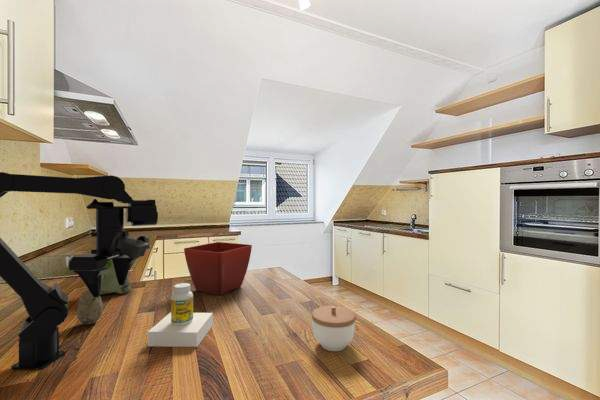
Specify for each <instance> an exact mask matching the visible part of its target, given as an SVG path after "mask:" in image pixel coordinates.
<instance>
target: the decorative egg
mask: <svg viewBox="0 0 600 400" xmlns="http://www.w3.org/2000/svg"><path fill="white" fill-rule="evenodd" d="M103 310H104V305H103V301H102V297H101V296H100V295H99V297H93V295H92V294H91V292H90V291H89V289H88V288H87V289H86V290H85V291H84V292H83V293H82V295H81V296H80V298H79V302H78V304H77V309H76V316H77V320H78V321H79V323H81V324H84V325H92V324H94V323H96V322H97V321H99V319H100V318H101V317H102V314H103V312H104V311H103Z"/></svg>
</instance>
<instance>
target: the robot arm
mask: <svg viewBox="0 0 600 400" xmlns="http://www.w3.org/2000/svg"><path fill="white" fill-rule="evenodd" d="M9 192H17V193H18V192H22V193H48V194H49V193H50V194H72V195H73V194H76V195H82V196H85V197H86V196H87V197H92V198H93V197H94V198H93V200H92V201H91V202H90V203H89V204H88V205H86V206H85V208H86V209H87V210H92V209H93V210H95V231H91V236H90V237H92V238H93V237H94V238H95V248H91V250H90V252H91V253H84V254H83V253H82V254H78V255H76V256H75V255H74V256H71V258H70V259H69V260H68V271H72V272H73V274H75V273H76V274H77V275H78V276H79V277H80V279H81V280H82V281H83V283H84V284H85V286H86V287H87V289H89V291H90V292H91V294H92V295H93V297H99V295H100V289H101V280H102V276H103V273H104V272H105V271H106V270H107V268H104V267H105V266H106V264H107V260H110V259H112V261H113V265H114V269H115V273H116V277H117V280H118V283H119V285H124V283H125V280H126V277H127V275H128V274H129V271H130V268H131V266H132V264H133V263H134V262H135V261H136V260H137V259H139V258H140V257H144V256H145V255H146V251H147V250H149V249H150V248H151V247H150V239H149V236H146V235H140V236H138V238H137V237H131V236H129V231H128V230H127V229H124V228H125V227H124V225H125V224H124V223H125V222H126V223H130V226H131V227H139V226H140V227H141V226H144V227H145V226H157V224H158V219H159V212H158V210H157V209H158V208H157V205H156V199H143V200H142V199H141V200H138V199H137V200H136V199H135V200H134V199H133V198H132V196H131V195H130V194H129V193H128V192H127V191H126V185H125V182H124V181H123V179H121V178H120V177H119V176H116V175H112V174H111V175H98V176H97V175H95V176H86V177H65V176H63V177H62V176H50V175H36V174H35V175H34V174H33V175H32V174H20V173H19V174H18V173H9V172H3V171H0V199H1V198H2V197H4V196H5V195H6V194H7V193H9ZM96 198H99V199H102V200H103V199H104V200H115V202H118V203H120V204H128V205H114V201H98V200H97V199H96ZM124 210H125V212H124ZM124 214H125V217H124ZM124 218H125V219H124ZM124 220H125V222H124ZM0 278H1V279H2V280H3V281H4V282H5V283H6V284H7V285H8V287H10V288H11V289H12V290H13V291H14V293H16V294H17V295H18V296H19V298H20V299H21V301H22V303H23V306H24V309H25V310H26V312H27V314H28V316H27V318H25V319H24V320H23V323H22V325H21V327H20V330H19V333H18V337H19V338H18V361H17V362H16V363H14V364H13V365H11V366H10V369H11V370H42V369H44V368H45V367H47V366H48V365H50V364H51V363H52V362H54V361H56V360H57V359H60V358H61V357H62V356H64V355H65V354H66V350H60V332H59V331H60V330H59V329H60V328H59V326H60V325H61V324H63V323H64V322H65V320H66V319H67V317H68V314H69V313H68V312H69V294H67V293H65V292H64V291H63V290H62V288H61V287H60V286H59V285H60V284H58V283H57V282H55V283H54V284H53V285H52V286H49V285H47V284H45V283H44V282H42V281H41V279H39V277H37V275H36V274H34V272H33V271H32V270H31V269H30V268H29V267H28V266H27V265H26V263H25V262H24V261H23V260H22V259H21V258H20V257H19V256H18V255H17V254H16V253H15V252H14V251H13V249H11V247H10V246H9V245H8V244H7V243H6V242H5V241H4V240H3V239H2V237H0Z"/></svg>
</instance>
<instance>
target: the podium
mask: <svg viewBox="0 0 600 400" xmlns="http://www.w3.org/2000/svg"><path fill="white" fill-rule="evenodd" d="M213 319H214V313H213V312H193V320H192V322H190V323H188V324H186V325H173V324H172V323H171V311H170V312H169V313H168V314H167V315H165V317H163V318H162V319H161V320H160V321H159V322H157V323H156V324H155V325H154V326H153V327H152V328H151V329H149V330H148V331H147V347H163V348H164V347H168V348H169V347H172V348H175V347H176V348H177V347H178V348H179V347H180V348H181V347H182V348H184V347H186V348H197V347H198V346H199V345H200V344H201V342H202V341H203V339H204V338H205V337H206V335H207V334H208V332H209V331H210V330H211V328H212V327H213V326H214V325H213V324H214V322H213V321H214V320H213Z"/></svg>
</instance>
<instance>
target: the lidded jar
mask: <svg viewBox="0 0 600 400" xmlns="http://www.w3.org/2000/svg"><path fill="white" fill-rule="evenodd" d="M356 318H357V317H356V314H355V312H354V311H353V310H351V309H349V308H348V307H343V306H337V305H325V306H319V307H317V308H314V310H312V312H311V319H312V320H311V322H312V323H311V324H312V332H313V335H314V338H315V340H316V341H317V342H318V343H319V344H320V346H321V348H323V349H324V350H327V351H328V352H340V351H344V350H345V348H346V347H347V346H348V345H349V344H351V342H352V340H353V337H354V335H355V330H356Z"/></svg>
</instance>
